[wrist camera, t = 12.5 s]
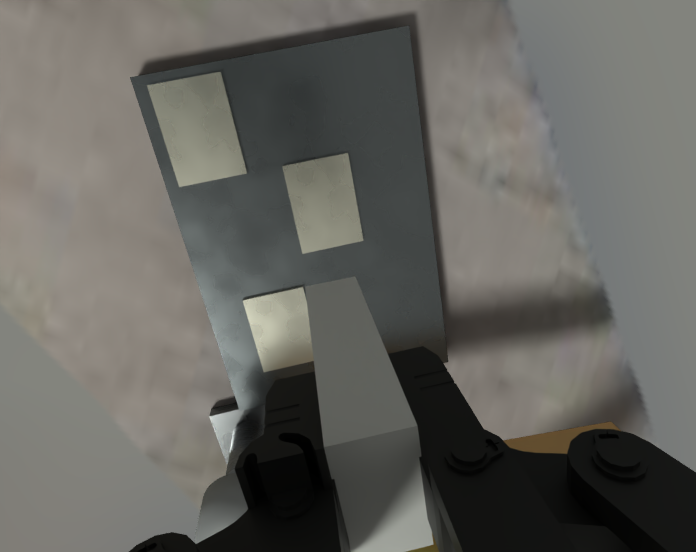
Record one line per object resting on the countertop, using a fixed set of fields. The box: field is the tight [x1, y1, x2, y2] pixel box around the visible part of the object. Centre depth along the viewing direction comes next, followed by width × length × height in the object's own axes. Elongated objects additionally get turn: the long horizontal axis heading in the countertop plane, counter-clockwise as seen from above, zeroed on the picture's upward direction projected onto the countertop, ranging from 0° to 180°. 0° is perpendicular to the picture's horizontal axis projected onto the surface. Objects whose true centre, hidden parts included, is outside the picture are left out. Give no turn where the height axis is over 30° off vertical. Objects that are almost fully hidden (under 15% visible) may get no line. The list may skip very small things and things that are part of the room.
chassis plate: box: [130, 26, 448, 411], centre depth 26 cm, size 20×14×1 cm
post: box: [209, 403, 265, 475], centre depth 28 cm, size 4×4×6 cm
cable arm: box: [195, 422, 621, 544], centre depth 24 cm, size 24×4×2 cm, turn 96°
